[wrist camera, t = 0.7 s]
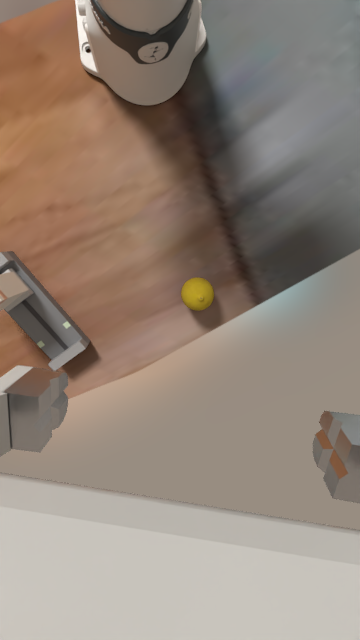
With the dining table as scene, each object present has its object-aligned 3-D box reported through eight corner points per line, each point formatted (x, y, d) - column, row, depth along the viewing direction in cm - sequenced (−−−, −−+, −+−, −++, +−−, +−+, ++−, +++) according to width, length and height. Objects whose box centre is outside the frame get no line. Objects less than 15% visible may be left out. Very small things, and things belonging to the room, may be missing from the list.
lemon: (215, 285, 55) (225, 293, 47) (198, 310, 56) (205, 321, 48) (190, 269, 53) (196, 273, 46) (173, 294, 54) (176, 303, 47)
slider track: (-19, 275, 51) (-34, 278, 47) (12, 251, 50) (0, 252, 46) (61, 362, 56) (54, 371, 52) (90, 340, 55) (85, 348, 51)
